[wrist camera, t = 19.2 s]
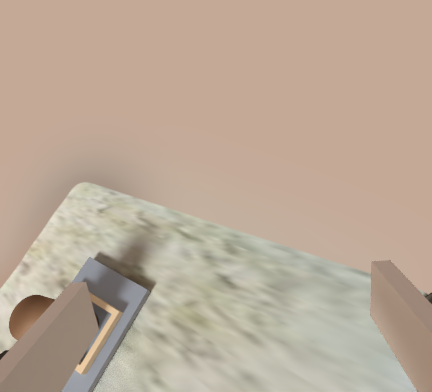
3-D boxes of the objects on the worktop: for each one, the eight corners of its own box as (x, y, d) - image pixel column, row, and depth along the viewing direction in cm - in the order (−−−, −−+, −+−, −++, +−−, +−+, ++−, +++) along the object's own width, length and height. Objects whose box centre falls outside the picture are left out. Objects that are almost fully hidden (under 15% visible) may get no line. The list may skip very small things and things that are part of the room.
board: (150, 291, 49) (144, 287, 46) (79, 412, 42) (67, 416, 40) (93, 259, 53) (84, 254, 50) (20, 366, 46) (6, 366, 44)
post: (105, 319, 46) (59, 306, 36) (85, 352, 45) (30, 349, 34) (80, 303, 48) (29, 287, 37) (60, 335, 46) (0, 327, 36)
